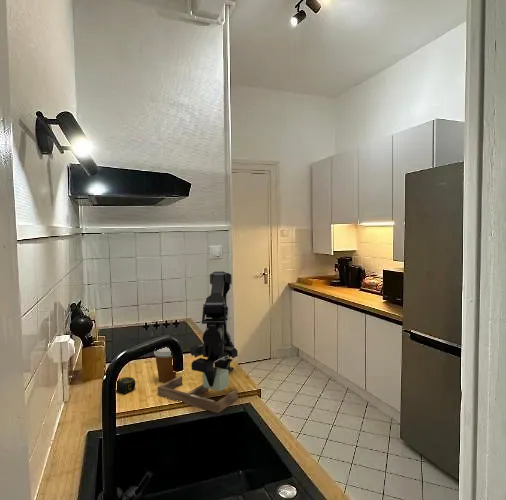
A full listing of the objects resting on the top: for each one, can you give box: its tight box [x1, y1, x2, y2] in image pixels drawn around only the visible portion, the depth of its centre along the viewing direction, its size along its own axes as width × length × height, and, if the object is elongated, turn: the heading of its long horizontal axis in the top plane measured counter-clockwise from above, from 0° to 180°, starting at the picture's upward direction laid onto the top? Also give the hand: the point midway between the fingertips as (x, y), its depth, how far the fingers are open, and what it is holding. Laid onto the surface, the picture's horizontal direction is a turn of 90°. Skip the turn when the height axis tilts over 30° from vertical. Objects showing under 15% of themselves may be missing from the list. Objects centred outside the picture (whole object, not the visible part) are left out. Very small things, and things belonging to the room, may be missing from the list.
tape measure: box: [116, 376, 136, 394], centre depth 133 cm, size 7×7×4 cm
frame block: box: [202, 367, 230, 392], centre depth 125 cm, size 5×7×6 cm
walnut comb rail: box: [157, 375, 239, 414], centre depth 126 cm, size 11×26×3 cm, turn 59°
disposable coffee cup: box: [153, 347, 177, 383], centre depth 142 cm, size 10×10×12 cm
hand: (215, 383), depth 125 cm, fingers closed on frame block, 5 cm apart
